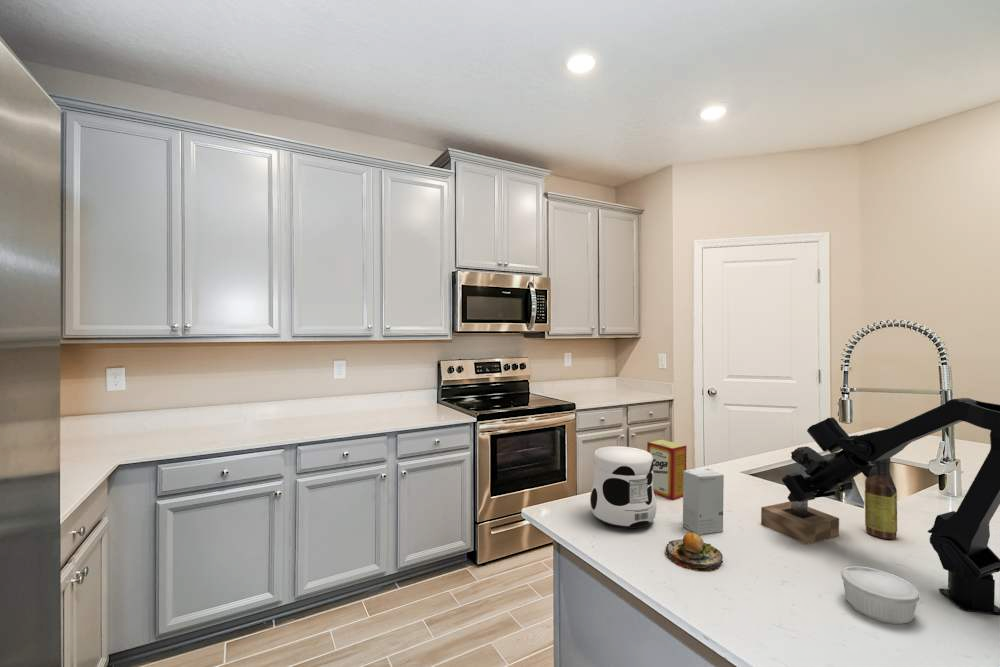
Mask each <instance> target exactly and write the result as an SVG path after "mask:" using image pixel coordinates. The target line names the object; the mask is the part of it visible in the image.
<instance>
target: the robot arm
mask: <svg viewBox="0 0 1000 667" xmlns="http://www.w3.org/2000/svg"><path fill="white" fill-rule="evenodd" d="M962 422H964V423H968V424H970V425H973V426H975V427H978V428H981V429H985V430H989V431H990V434H989V439H990V440H989V443H990V449H989V452H988V454H987V456H986V457H985V459H984V460H983V463H982V464H981V466H980V468H979V470H978V472H977V474H976V475H975V477H974V479H973V481H972V482H971V484H970V485H969V488H968V490H967V492H966V493H965V495H964V497H963V499H962V501H961V503H960V504H959V506H958V507H957V510H956V511H955V510H951V511H948V512H945V513H942V514H939V515H938V514H937V515H936V516H935V517H936V518H935V519H934V524H933V526H932V527H931V528H930V529H928V530H927V533H929V534H930V536H929V544H930V545H931V547H932V548H933V550H934V552H936V554H937V556H938V558H939V562H940V563H941V566H942V569H944V570H945V571H948V572H947V576H948V577H947V588H939V589H938V592H939V593H941V594H942V595H944V596H945V597H946V598H947V599H948V600H950V601H951V602H952V603H953V604H955V605H956V606H957V607H959V608H960V609H962V610H964V611H966V612H967V611H969V612H975V613H976V612H977V613H983V614H994V615H1000V607H999V606H997V605H996V604H995V599H996V598H995V593H996V590H995V586H996V585H995V584H996V580H995V579H994V575H993V574H995V573H999V572H1000V558H999V557H998V555H996V553H994V552H995V551H993V550H992V549H991V548H990V546H988V544H989V542H990V541H989V540H990V536H991V534H990V522H991V520H992V518H993V517H994V515H995V513H996V512H997V510H998V508H999V507H1000V404H998V403H997V404H996V403H991V402H986V401H980V400H976V399H972V398H969V397H960V398H958V397H957V398H953V399H949V400H947V401H946V402H945V403H944V404H941V405H939V406H937V407H934V408H932V409H930V410H928V411H925V412H923V413H921V414H919V415H916V416H914V417H912V418H909V419H908V420H906V421H902V422H901V423H898V424H896V425H894V426H893V427H889V428H885V429H882V430H877V431H876V430H875V431H871V432H868V433H863V434H860V435H857V434H855V435H850V436H849V434H848V433H847V432H846V431H845V430H844V429H843V427H841V425H840V424H839V422H838V420H836V419H835V418H834V417H827V418H826V419H824V420H821V421H819V422H818V423H815V424H811V425H810V426H809V427H808V428H807V430H806V432H807V433H808V434H809V436H810V437H811V438H812V439H813V441H814V442H815V443H816V444H817V445H818V447H819V448H820V449H821V451H823V452H829V453H830V454H834V453H835V454H834V455H833V456H831V457H830V458H829V459H826V458H824V456H823V455H821V454H820V453H819V452H817V451H816V450H814V449H813V448H811V447H810V446H801V447H797V448H795V449H794V450H793V451H791V453H790V454H791V456H790V458H791V460H792V461H794V462H795V463H796V464H798V465H800V466H802V467H804V468H805V470H804V472H805V475H807V476H809V477H805V478H804V477H803V476H802V474H803V473H799V472H794V473H793V474H791V473H788V474H786V475H785V476H783V477H782V478H781V482H783V484H784V485H785V487H786V489H787V490H788V491H789V494H788V496H787V499H788V502H793V501H798V502H802V501H812V500H816V499H817V498H824V497H831V496H835V495H836V492H837V491H838V492H839V494H844V493H847V492H848V493H849V491H852V490H853V482H852V481H853V480H852V479H854V478H855V477H856V476H858V475H860V474H861V473H862V474H863V475H864V476H865V478H868V477H873V476H877V475H878V471H877V465H875V464H872V463H871V461H876V460H882V459H888V458H890V459H891V458H893V457H894V456H895V455H897V454H898V453H900V452H901V451H903V450H904V449H905V448H906V447H907V446H908V445H910V444H911V443H913V442H916V441H918V440H920V439H923V438H926V437H928V436H930V435H932V434H935V433H938V432H939V431H942V430H944V429H948V428H950V427H952V426H954V425H956V424H959V423H960V424H961V423H962ZM798 473H799V474H798ZM839 487H840V488H839ZM835 491H836V492H835Z"/></svg>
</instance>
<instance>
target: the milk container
mask: <svg viewBox="0 0 1000 667" xmlns="http://www.w3.org/2000/svg"><path fill="white" fill-rule="evenodd" d="M591 488H592V489H591V491H590V495H589V496H590V497H589V503H590V509H591V513H592V514H593V515H594V517H595V518H596V519H597V520H598V521H600V522H602V523H603V524H606V525H608V526H613V527H616V528H623V529H639V528H643V527H646V526H648V525H649V524H651V523H652V522H653V521H654V519H656V513H657V499H656V494H654V491H653V457H652V455H651V454H650V453H649V452H647V450H645V449H641V448H636V447H630V446H624V445H623V446H620V445H618V446H616V445H612V446H603V447H599V448H597V449H596V450H594V455H593V484H592V487H591Z"/></svg>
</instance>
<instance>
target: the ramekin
mask: <svg viewBox="0 0 1000 667" xmlns="http://www.w3.org/2000/svg"><path fill="white" fill-rule="evenodd" d="M840 577H841V579H842V583H843V588H844V594H845V598H846V600H847V602H848V603H849V604H850V605H851V607H852V608H853V609H855V610H856V611H858V612H859V613H861V614H862V615H865V616H867V617H868V618H871V619H872V620H873V619H874V620H877V621H879V622H883V623H887V624H893V625H904V624H907V623H909V622H911V621H912V620H913V619H914V617H915V613H916V609H917V604H918V601H920V592H919V590H918V588H916V586H914V585H913V583H911V582H909V581H907V580H906V579H903V578H902V577H900V576H897V575H896V574H892V573H890V572H887V571H884V570H880V569H876V568H872V567H867V566H857V565H856V566H847V567H843V569H842V570H841V575H840Z"/></svg>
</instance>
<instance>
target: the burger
mask: <svg viewBox="0 0 1000 667" xmlns="http://www.w3.org/2000/svg"><path fill="white" fill-rule="evenodd" d="M665 555H666V558H668V559H669V560H671V561H674V562H675V564H676V565H677V566H679V567H681V568H684V567H685V568H686V569H688V570H694V571H698V572H703V573H705V572H715V571H718V569H719V568H720V567H721V565H722V564H724V561H723V558H724V557H723V554H722V552H721V551H720V550H719V549H718V548H716V547H714V546H713V545H712V544H711V543H707V542H706V543H705V541H704V539H703V537H702V536H701V535H697V534H695V533H693V532H687V533H685V534H683V537H682V539H674V540H673V539H672V540H670V541H668V543H666V546H665Z"/></svg>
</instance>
